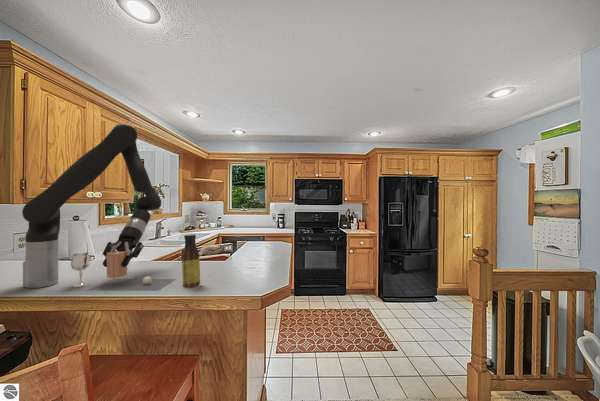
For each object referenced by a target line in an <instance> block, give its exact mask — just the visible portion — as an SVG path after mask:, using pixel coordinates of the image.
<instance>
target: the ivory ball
mask: <svg viewBox="0 0 600 401" xmlns="http://www.w3.org/2000/svg"><path fill="white" fill-rule="evenodd" d="M142 279H143V283H144V284H146V285H147V284H150V283H151V281H152V279H153V278H152V277H151V276H145V277H144V278H142Z"/></svg>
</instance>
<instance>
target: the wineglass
mask: <svg viewBox="0 0 600 401" xmlns="http://www.w3.org/2000/svg"><path fill="white" fill-rule="evenodd" d="M90 265H91V259H90V254H89V253H88V252H81V253H74V254H73V255H72V256H71V260H70V267H71V269H72V270H74V271H78V276H79V282H78V283H77V284H76V283H75V284H73V286H72V287H74V288H78V287H79V288H80V287H85V286H88V284H89V283H88V282H83V281H82V279H83V278H82V276H83V271H85V270H87V269H88V268H89V267H90Z"/></svg>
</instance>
